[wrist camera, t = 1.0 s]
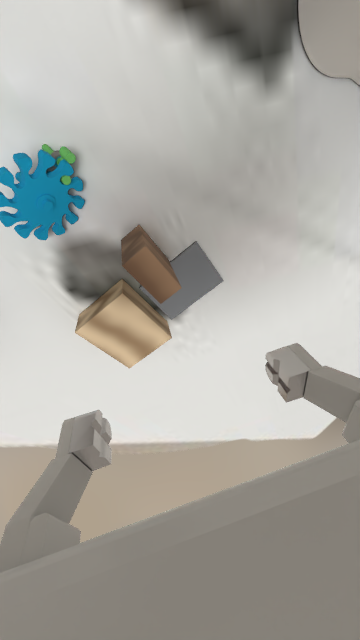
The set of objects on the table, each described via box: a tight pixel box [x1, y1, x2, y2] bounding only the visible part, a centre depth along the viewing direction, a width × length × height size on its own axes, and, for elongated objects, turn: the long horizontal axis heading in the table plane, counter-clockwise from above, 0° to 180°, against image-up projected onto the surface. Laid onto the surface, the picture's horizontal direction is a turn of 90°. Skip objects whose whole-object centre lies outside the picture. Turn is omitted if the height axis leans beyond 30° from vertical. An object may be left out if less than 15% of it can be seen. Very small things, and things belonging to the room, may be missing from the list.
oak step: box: [75, 279, 172, 368], centre depth 40 cm, size 10×12×5 cm
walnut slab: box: [121, 225, 182, 304], centre depth 32 cm, size 4×7×10 cm, turn 37°
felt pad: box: [139, 242, 223, 320], centre depth 40 cm, size 12×9×1 cm
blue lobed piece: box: [0, 144, 85, 240], centre depth 27 cm, size 11×6×10 cm
